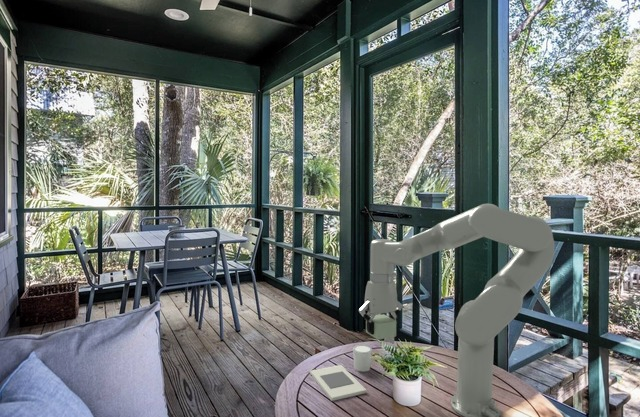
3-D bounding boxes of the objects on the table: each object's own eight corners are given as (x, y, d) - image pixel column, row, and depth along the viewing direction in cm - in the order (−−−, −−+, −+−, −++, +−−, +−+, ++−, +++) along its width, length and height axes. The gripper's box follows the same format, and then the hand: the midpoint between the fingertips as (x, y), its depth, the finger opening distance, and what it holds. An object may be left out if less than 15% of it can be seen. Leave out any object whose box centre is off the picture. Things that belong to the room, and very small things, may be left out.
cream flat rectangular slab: (366, 392, 117) (366, 389, 117) (331, 401, 112) (331, 397, 112) (340, 367, 134) (340, 364, 134) (309, 373, 129) (309, 370, 129)
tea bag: (393, 349, 149) (394, 325, 149) (393, 356, 143) (394, 331, 142) (384, 348, 150) (385, 324, 149) (383, 355, 143) (384, 330, 143)
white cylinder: (371, 363, 137) (371, 345, 136) (372, 373, 130) (372, 353, 130) (352, 362, 137) (352, 344, 137) (352, 371, 131) (352, 352, 130)
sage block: (396, 336, 120) (396, 321, 120) (377, 339, 117) (377, 324, 117) (383, 328, 126) (383, 314, 126) (365, 331, 123) (366, 317, 123)
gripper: (397, 273, 128) (396, 324, 129) (352, 277, 121) (351, 331, 122) (411, 277, 121) (409, 331, 122) (364, 282, 114) (363, 339, 115)
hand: (380, 331), depth 122 cm, fingers closed on sage block, 7 cm apart
